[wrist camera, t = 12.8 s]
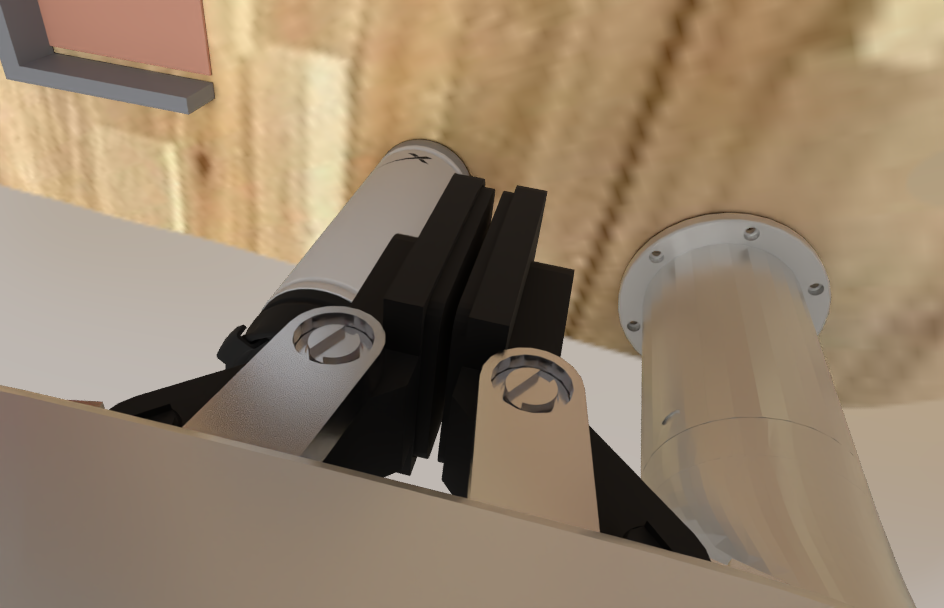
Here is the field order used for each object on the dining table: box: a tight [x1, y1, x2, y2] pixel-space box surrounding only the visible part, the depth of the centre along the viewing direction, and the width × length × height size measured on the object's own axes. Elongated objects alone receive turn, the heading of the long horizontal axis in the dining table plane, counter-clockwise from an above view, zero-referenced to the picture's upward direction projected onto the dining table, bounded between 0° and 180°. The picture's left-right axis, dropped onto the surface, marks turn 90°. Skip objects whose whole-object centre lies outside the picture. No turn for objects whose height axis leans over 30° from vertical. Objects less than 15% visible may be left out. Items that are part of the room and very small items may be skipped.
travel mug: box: [217, 139, 470, 369], centre depth 34 cm, size 6×7×20 cm
